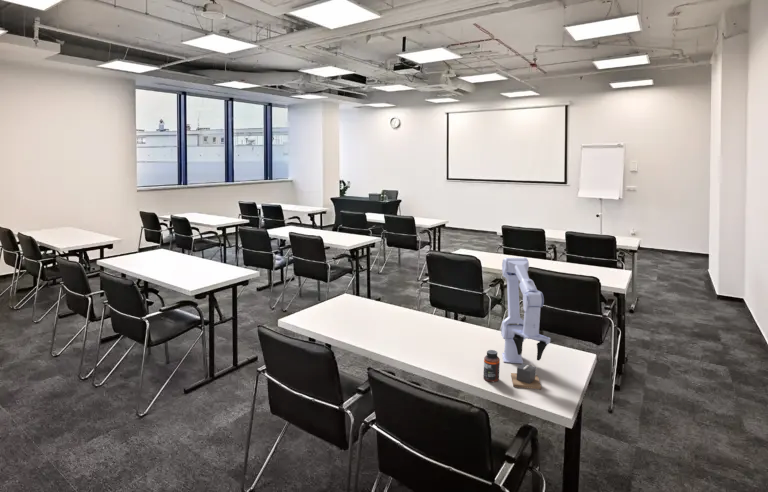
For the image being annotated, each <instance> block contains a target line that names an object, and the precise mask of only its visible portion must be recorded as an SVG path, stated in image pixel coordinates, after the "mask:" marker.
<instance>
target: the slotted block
mask: <svg viewBox="0 0 768 492" xmlns="http://www.w3.org/2000/svg"><path fill="white" fill-rule="evenodd" d="M536 368H537V367H536V366H532V365H530V364H525V363H523V364H521V363H520V365H519V366H518V367H517V368H516V373H517V380H518V381H521V382H525V383H528V384H530V383H531V382H533V381H534V380H535V375H536V374H537V372H536V371H537V369H536Z"/></svg>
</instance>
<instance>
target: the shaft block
mask: <svg viewBox="0 0 768 492" xmlns="http://www.w3.org/2000/svg"><path fill="white" fill-rule="evenodd" d="M510 377H511V382H512V386H513V388H520V389H521V388H522V389H524V388H525V389H532V390H533V389H534V390H536V389H537V390H542V385H541V383H540V378H539V376H538V374H535V380H534V381H533V382H531V383H530V384H528V383H525V382H521V381H518V380H517V372H516V373H515V372H512V373H511V372H510Z"/></svg>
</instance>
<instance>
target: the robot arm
mask: <svg viewBox="0 0 768 492" xmlns="http://www.w3.org/2000/svg"><path fill="white" fill-rule="evenodd" d="M529 268H530V263H529V259H528V258H527V257H504V258H503V259H502V264H501V271H502V277H503V278H505V279H506V288H507V289H506V290H507V292H506V293H507V294H506V295H507V314H508V315H507V317H506V318H504V319H503V320H502V322H501V328H500V329H501V330H500V331H501V333H500V334H501V338H502V339H504V352H502V353H501V355H502V360H503V361H502V362H503V363H507V364H508V363H509V364H511V363H512V364H520V365H521V364H524V360H523V357H522V354H523V344H524V342H525V340H526V339H527V340H532V341H533V340H534V341H537V343H536V349H537V353H536V360H537V361H540V360H541V359H542V355H543V354H544V351H545V350H546V347H547V346H548V345H549V344H550V343H551V337H549V336H546V335H543V334H540V320H541V308H543V307H544V303H545V298H544V294H543V292H542V291H540V290H538V289H537V286H536V285H535V282H534V280H533V279H531V278H530V276H529V273H528V272H529ZM519 290H520V291H519ZM520 292H521V294H522V304H523V306H522V307H523V308H522V309H523V311H524V313H523V318H522V317H521V314H520V313H521V312H520Z"/></svg>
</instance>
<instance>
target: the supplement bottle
mask: <svg viewBox="0 0 768 492" xmlns="http://www.w3.org/2000/svg"><path fill="white" fill-rule="evenodd" d="M483 358H484V359H483V379H484V380H485V381H486V382H489V383H490V382H491V383H496V382H498V381H499V379H500V364H501V361H500V360H501V359H500V357H499V356H498V351H497V350H494V349H489V350H486V355H484V357H483Z"/></svg>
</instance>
